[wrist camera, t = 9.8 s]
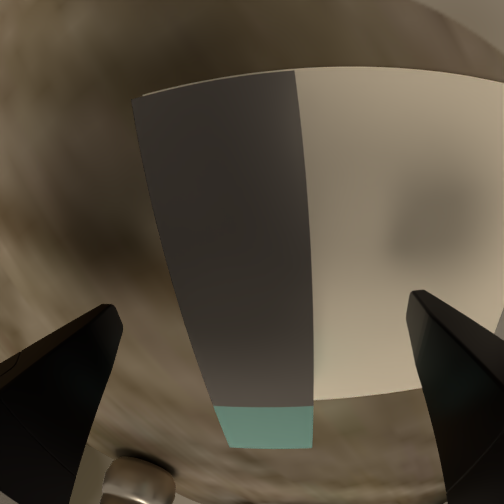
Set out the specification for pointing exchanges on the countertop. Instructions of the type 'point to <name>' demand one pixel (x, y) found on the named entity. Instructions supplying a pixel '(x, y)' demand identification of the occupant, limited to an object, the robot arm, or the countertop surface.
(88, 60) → the countertop surface
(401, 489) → the countertop surface
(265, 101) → the marker
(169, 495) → the plastic bottle
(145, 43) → the countertop surface
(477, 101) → the notepad
